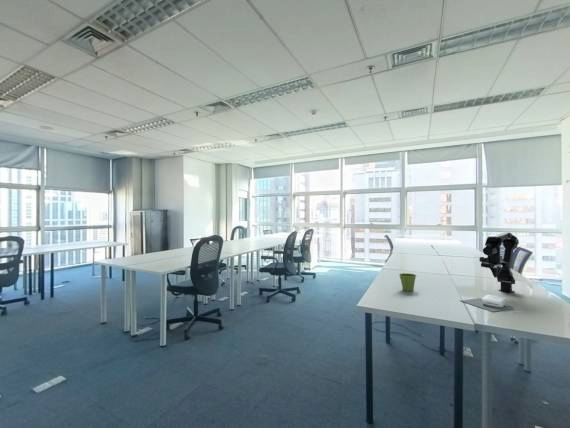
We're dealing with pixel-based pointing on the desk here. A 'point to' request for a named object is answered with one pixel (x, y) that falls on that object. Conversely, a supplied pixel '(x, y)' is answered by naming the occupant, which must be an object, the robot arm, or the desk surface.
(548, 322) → the desk surface
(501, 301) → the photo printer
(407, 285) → the plant pot
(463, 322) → the desk surface
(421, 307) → the desk surface
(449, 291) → the desk surface
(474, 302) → the mat
